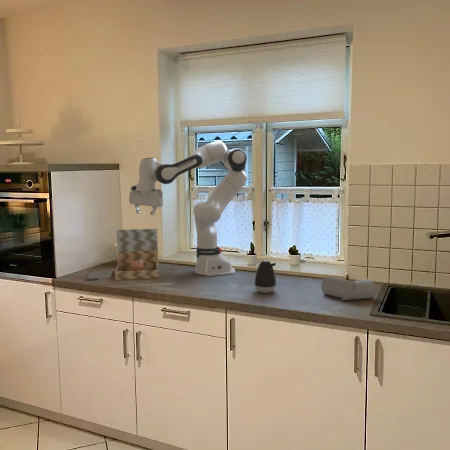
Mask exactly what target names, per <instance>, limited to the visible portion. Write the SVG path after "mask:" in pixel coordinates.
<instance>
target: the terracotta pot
mask: <svg viewBox="0 0 450 450" xmlns="http://www.w3.org/2000/svg"><path fill="white" fill-rule="evenodd" d="M131 269H132V271H144V266H143V259H141V258H136V259H132V260H131Z"/></svg>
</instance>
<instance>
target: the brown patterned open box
mask: <svg viewBox="0 0 450 450" xmlns="http://www.w3.org/2000/svg"><path fill="white" fill-rule="evenodd" d="M158 244H159V243H158V228H136V229H135V228H134V229H116V245H117V246H116V247H117V248H116V250H117V252H116V253H117V265H116V269H115V271H114V277H115V278H114V279H115V281H121V280H139V279H140V280H141V279H142V280H143V279H146V280H147V279H159V251H158V249H159V248H158ZM136 258H141V259H143V266H144V271H132V269H131V260H132V259H136Z"/></svg>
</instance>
